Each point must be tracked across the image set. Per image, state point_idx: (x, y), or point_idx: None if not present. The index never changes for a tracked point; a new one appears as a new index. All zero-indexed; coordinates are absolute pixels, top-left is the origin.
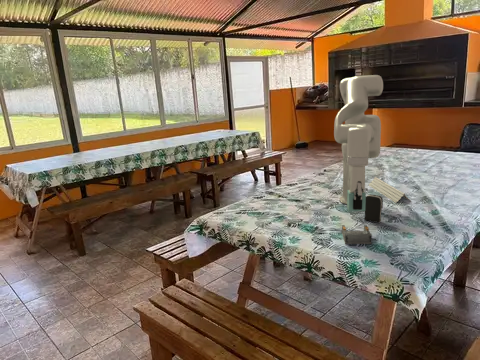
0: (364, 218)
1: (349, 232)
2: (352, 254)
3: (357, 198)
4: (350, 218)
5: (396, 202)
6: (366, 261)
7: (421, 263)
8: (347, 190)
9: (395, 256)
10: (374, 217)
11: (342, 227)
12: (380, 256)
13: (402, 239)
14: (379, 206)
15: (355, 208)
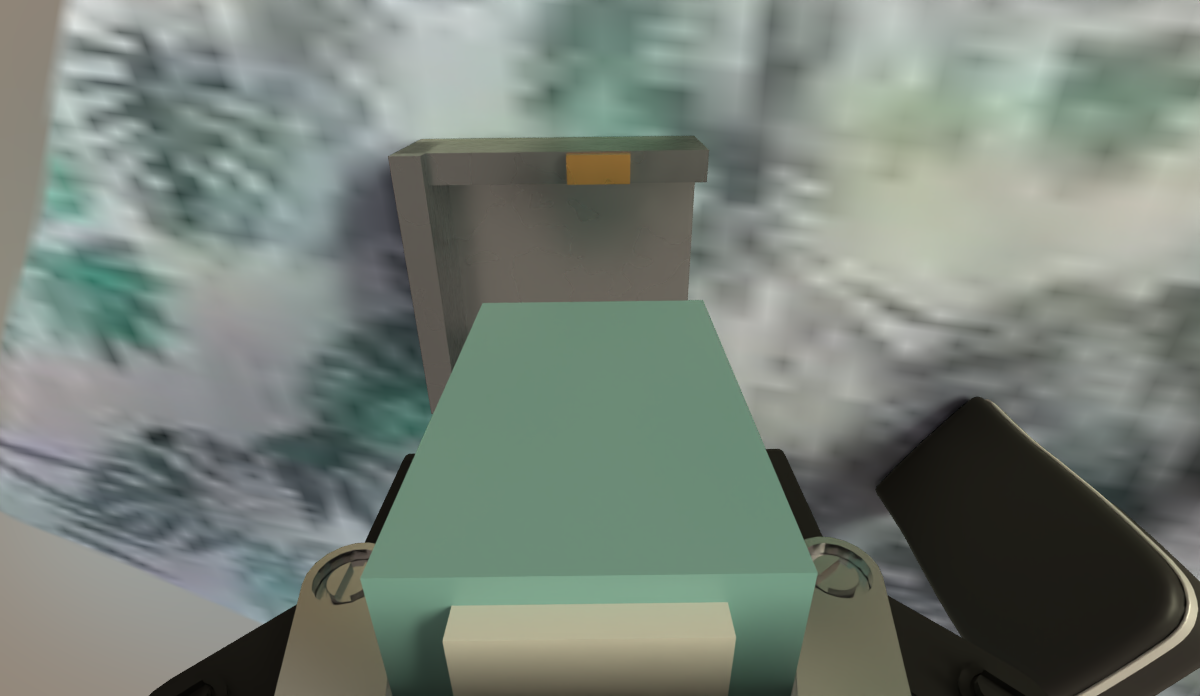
0: (983, 400)
1: (653, 217)
2: (209, 182)
3: (260, 650)
4: (1058, 274)
5: None
6: (121, 280)
7: (229, 579)
8: (798, 560)
9: (280, 477)
10: (922, 487)
11: (651, 149)
12: (247, 390)
13: None
14: (954, 615)
15: None
